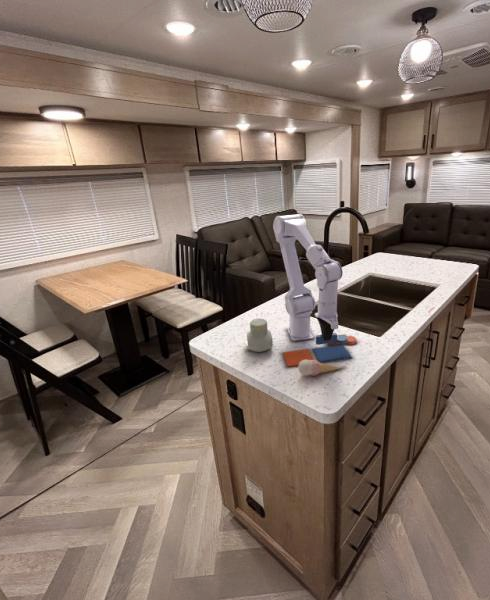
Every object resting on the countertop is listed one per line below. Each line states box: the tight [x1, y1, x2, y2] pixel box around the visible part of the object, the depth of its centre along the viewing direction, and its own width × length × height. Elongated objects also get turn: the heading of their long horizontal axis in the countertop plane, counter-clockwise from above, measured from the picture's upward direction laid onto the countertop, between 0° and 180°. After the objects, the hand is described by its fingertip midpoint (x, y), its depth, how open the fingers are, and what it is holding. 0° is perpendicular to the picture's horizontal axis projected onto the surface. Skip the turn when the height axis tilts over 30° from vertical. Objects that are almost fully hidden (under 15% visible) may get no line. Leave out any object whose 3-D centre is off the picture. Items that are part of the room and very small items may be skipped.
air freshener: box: [246, 318, 274, 353], centre depth 111 cm, size 11×8×10 cm
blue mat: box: [312, 344, 352, 363], centre depth 108 cm, size 8×11×1 cm
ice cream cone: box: [297, 359, 343, 376], centre depth 98 cm, size 5×5×15 cm
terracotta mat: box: [282, 348, 315, 368], centre depth 106 cm, size 8×9×1 cm
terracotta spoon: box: [326, 333, 357, 346], centre depth 114 cm, size 11×4×3 cm, turn 102°
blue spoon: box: [315, 332, 348, 346], centre depth 105 cm, size 11×4×3 cm, turn 102°
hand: (326, 338), depth 105 cm, fingers closed on blue spoon
